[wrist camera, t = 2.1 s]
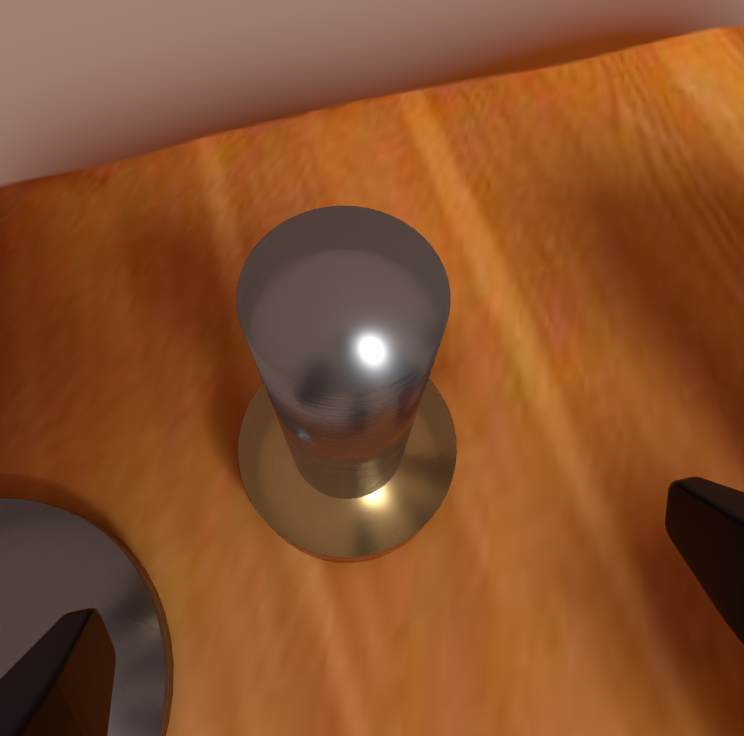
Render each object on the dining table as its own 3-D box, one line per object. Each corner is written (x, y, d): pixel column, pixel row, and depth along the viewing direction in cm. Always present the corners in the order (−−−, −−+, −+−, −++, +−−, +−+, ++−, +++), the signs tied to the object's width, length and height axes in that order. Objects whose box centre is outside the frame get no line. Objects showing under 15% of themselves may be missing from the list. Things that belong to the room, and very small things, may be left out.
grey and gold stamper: (468, 407, 22) (588, 198, 11) (409, 594, 19) (487, 575, 8) (296, 347, 22) (243, 92, 11) (217, 519, 20) (47, 406, 9)
